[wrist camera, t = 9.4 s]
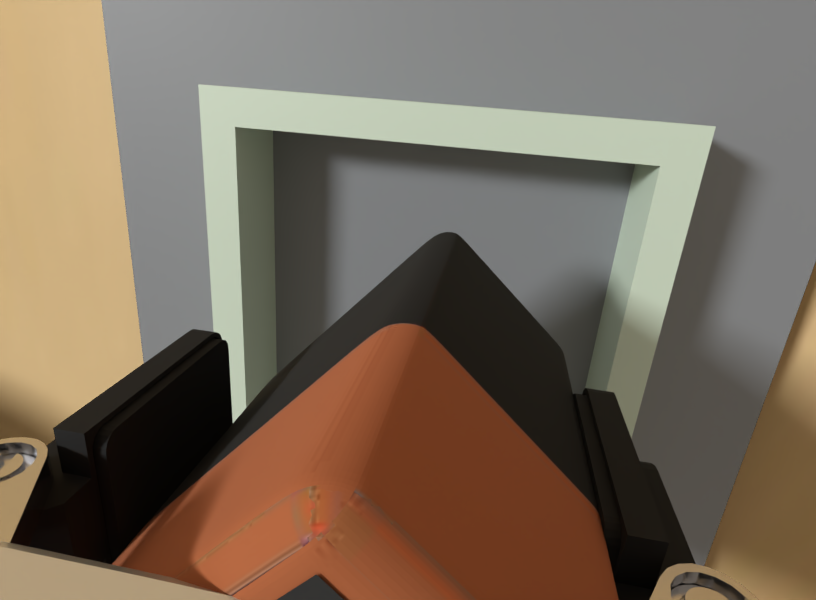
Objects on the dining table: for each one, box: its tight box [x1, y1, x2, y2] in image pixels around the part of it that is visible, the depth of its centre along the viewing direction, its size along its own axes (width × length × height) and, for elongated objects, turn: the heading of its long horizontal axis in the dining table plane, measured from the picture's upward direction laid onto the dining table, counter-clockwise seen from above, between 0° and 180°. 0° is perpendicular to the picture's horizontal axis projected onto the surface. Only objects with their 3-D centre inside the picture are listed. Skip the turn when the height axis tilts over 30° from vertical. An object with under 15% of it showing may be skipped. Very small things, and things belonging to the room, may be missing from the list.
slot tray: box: [102, 0, 816, 566], centre depth 17 cm, size 22×22×4 cm
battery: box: [112, 232, 619, 600], centre depth 9 cm, size 4×7×10 cm, turn 134°
